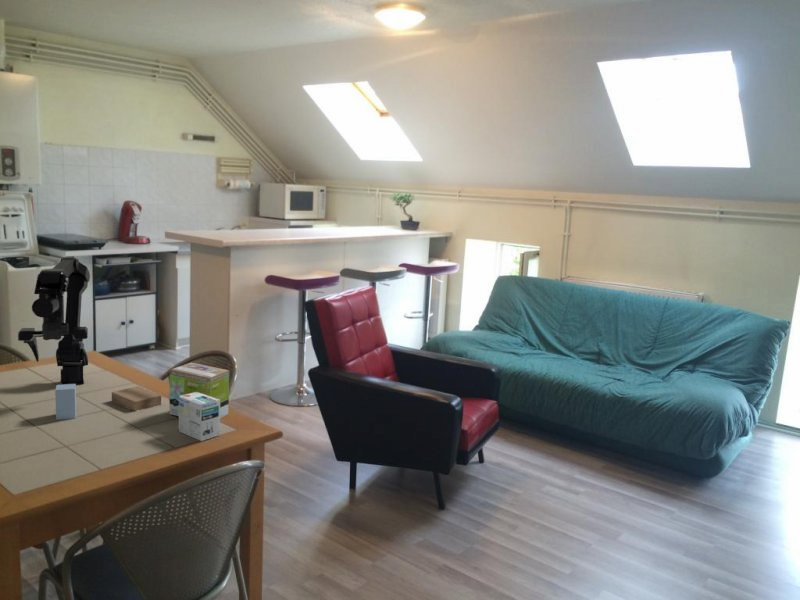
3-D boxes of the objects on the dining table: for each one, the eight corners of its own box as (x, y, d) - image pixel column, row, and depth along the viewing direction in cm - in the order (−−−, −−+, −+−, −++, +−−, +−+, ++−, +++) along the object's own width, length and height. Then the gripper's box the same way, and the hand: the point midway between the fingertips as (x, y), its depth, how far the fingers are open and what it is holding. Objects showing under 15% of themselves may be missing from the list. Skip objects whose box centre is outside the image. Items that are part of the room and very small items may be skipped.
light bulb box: (220, 435, 187) (221, 399, 185) (201, 442, 182) (201, 404, 180) (197, 425, 193) (197, 390, 191) (177, 431, 188) (177, 395, 186)
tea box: (168, 415, 200) (168, 368, 198) (190, 406, 209) (190, 361, 207) (208, 425, 195) (209, 376, 192) (229, 415, 204) (230, 368, 201)
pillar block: (76, 412, 198) (75, 383, 196) (75, 418, 193) (74, 388, 192) (57, 414, 196) (56, 384, 194) (56, 419, 191) (55, 389, 190)
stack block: (137, 396, 216) (137, 386, 216) (161, 406, 209) (161, 395, 208) (111, 402, 209) (111, 392, 209) (135, 412, 202) (135, 401, 201)
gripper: (14, 316, 191) (16, 369, 193) (86, 315, 198) (87, 366, 201) (19, 309, 201) (21, 359, 203) (87, 308, 208) (88, 356, 211)
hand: (54, 360), depth 204 cm, fingers open, 9 cm apart
